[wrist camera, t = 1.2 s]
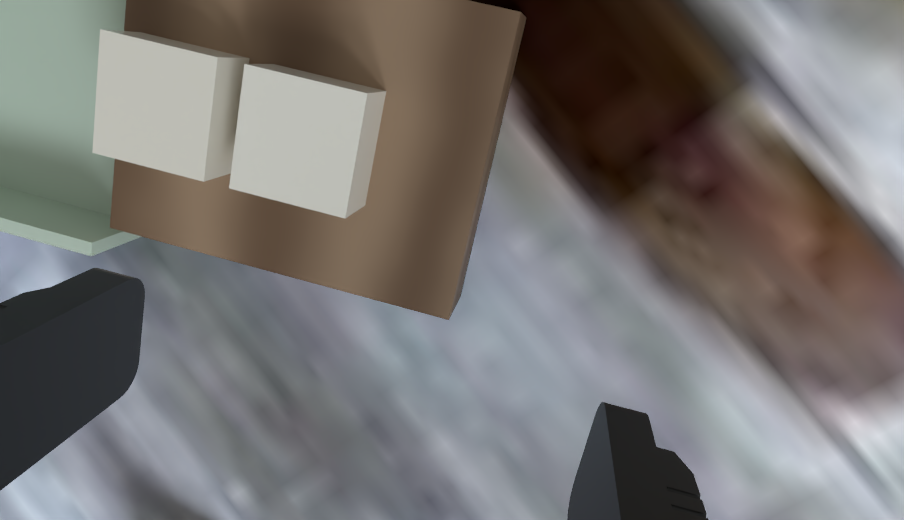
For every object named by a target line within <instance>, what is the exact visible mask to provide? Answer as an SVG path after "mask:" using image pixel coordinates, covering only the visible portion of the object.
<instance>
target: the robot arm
mask: <svg viewBox="0 0 904 520" xmlns="http://www.w3.org/2000/svg"><path fill="white" fill-rule="evenodd" d="M144 299H145V290H144V285H143V283H142V282H141V280H139V279H138V278H134V277H130V276H126V275H122V274H119V273H115V272H111V271H107V270H103V269H100V268H93V269H90V270H88V271H86V272H84V273H81V274H79V275H77V276H75V277H72V278H70V279H68V280H66V281H64V282H61V283H59V284H57V285H55V286H52V287H50V288H45V289H40V290H35V291H30V292H25V293H22V294H20V295H18V296H15V297H13V298H11V299H9V300H6V301H4V302H2V303H0V490H2V489H3V488H4V487H5V486H7V485H8V484H9V483H11V482H12V481H13V480H14V479H16V478H17V477H18V476H20V475H21V474H22V473H23V472H25V471H26V470H27V469H29V468H30V467H31V466H33V465H34V464H35V463H36V462H38V461H39V460H40V459H42V458H43V457H44V456H45V455H47V454H48V453H49V452H51V451H52V450H53V449H54V448H56V447H57V446H58V445H60V444H61V443H62V442H64V441H65V440H66V439H67V438H69V437H70V436H71V435H73V434H74V433H75V432H76V431H78V430H79V429H80V428H82V427H83V426H84V425H85V424H87V423H88V422H89V421H91V420H92V419H93V418H94V417H96V416H97V415H98V414H100V413H101V412H102V411H104V410H105V409H106V408H107V407H109V406H110V405H111V404H113V403H114V402H115V401H116V400H118V399H119V398H120V397H121V396H123V395H124V393H125V392H126V391H127V390H128V388H129V387H130V385H131V384H132V382H133V380H134V377H135V375H136V372H137V369H138V365H139V356H140V345H141V333H142V322H143V310H144ZM568 520H708V519H707V518H706V511H705V508H704V505H703V502H702V500H700V493H699V490H698V487H697V484H696V481H695V478H694V475H693V473H692V472H691V471H690V470H689V469H688V467H687V466H686V465H685V464H684V463H683V462H682V460H681V459H680V458H679V457H678V456H677V455H676V454H675V452H672V451H669V450H665V449H661V448H658V447H656V444H655V440H654V436H653V432H652V429H651V425H650V421H649V417H648V415H647V414H646V413H642V412H638V411H634V410H630V409H627V408H623V407H619V406H615V405H611V404H608V403H604V402H602V403H601V404H600V406H599V407H598V410H597V412H596V415H595V418H594V421H593V424H592V427H591V430H590V433H589V437H588V440H587V443H586V446H585V449H584V452H583V456H582V459H581V462H580V465H579V468H578V471H577V475H576V478H575V481H574V484H573V488H572V492H571V497H570V502H569V509H568Z"/></svg>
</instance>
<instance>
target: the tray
mask: <svg viewBox="0 0 904 520" xmlns="http://www.w3.org/2000/svg"><path fill="white" fill-rule="evenodd" d="M125 9H126V0H0V231H2V232H5V233H9V234H12V235H16V236H20V237H23V238H27V239H30V240H34V241H38V242H41V243H45V244H49V245H52V246H56V247H59V248H63V249H67V250H70V251H74V252H77V253H81V254H85V255H88V256H93V255H96V254H98V253H101V252H104V251H106V250H109V249H111V248H114V247H116V246H119V245H121V244H124V243H127V242H129V241H132V240H134V239H137V238H139V237H142V236H138V235H135V234H131V233H127V232H124V231H120V230H116V229H112V228H110V217H111V203H112V189H113V175H114V161H115V159H114V158H111V157H107V156H103V155H99V154H95V153H92V151H93V135H94V119H95V103H96V87H97V71H98V55H99V38H100V29H105V30H118V31H124V23H125Z"/></svg>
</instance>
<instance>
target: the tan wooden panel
mask: <svg viewBox="0 0 904 520" xmlns="http://www.w3.org/2000/svg"><path fill="white" fill-rule="evenodd" d="M525 22H526V17H525V16H524V15H523V14H522V13H521V12H519V11H514V10H510V9H505V8H501V7H496V6H492V5H487V4H483V3H478V2H474V1H469V0H126V9H125V23H124V31H130V32H142V33H146V34H150V35H155V36H159V37H163V38H167V39H171V40H176V41H180V42H184V43H188V44H192V45H196V46H201V47H205V48H209V49H213V50H217V51H221V52H226V53H230V54H234V55H238V56H242V57H246V58H249V64H276V65H280V66H284V67H288V68H292V69H297V70H301V71H305V72H309V73H313V74H317V75H322V76H326V77H330V78H334V79H338V80H342V81H347V82H351V83H355V84H359V85H363V86H367V87H372V88H376V89H380V90H384V91H386V96H385V101H384V106H383V112H382V117H381V123H380V128H379V133H378V139H377V144H376V150H375V155H374V160H373V166H372V171H371V177H370V182H369V187H368V193H367V198H366V204H365V206H364V207H362V208H361V209H359V210H358V211H356V212H355V213H353V214H352V215H350V216H348V217H347V218H341V217H337V216H333V215H329V214H326V213H322V212H318V211H314V210H310V209H306V208H302V207H299V206H295V205H291V204H287V203H283V202H279V201H276V200H272V199H268V198H264V197H260V196H256V195H253V194H249V193H245V192H241V191H237V190H233V189H230V188H229V184H230V176H231V173H230V174H227V175H224V176H221V177H218V178H214V179H211V180H208V181H205V182H203V181H199V180H195V179H191V178H187V177H184V176H180V175H176V174H172V173H168V172H164V171H161V170H157V169H153V168H149V167H145V166H141V165H137V164H134V163H130V162H126V161H122V160H118V159H115V161H114V175H113V189H112V203H111V217H110V228H112V229H116V230H120V231H124V232H127V233H131V234H135V235H138V236H142V237H146V238H149V239H153V240H157V241H160V242H164V243H168V244H171V245H175V246H179V247H182V248H186V249H190V250H193V251H197V252H201V253H204V254H208V255H212V256H216V257H219V258H223V259H227V260H230V261H234V262H238V263H241V264H245V265H249V266H252V267H256V268H260V269H263V270H267V271H271V272H274V273H278V274H282V275H285V276H289V277H293V278H296V279H300V280H304V281H307V282H311V283H315V284H319V285H322V286H326V287H330V288H333V289H337V290H341V291H344V292H348V293H352V294H355V295H359V296H363V297H366V298H370V299H374V300H377V301H381V302H385V303H388V304H392V305H396V306H399V307H403V308H407V309H411V310H414V311H418V312H422V313H425V314H429V315H433V316H436V317H440V318H444V319H447V320H449V318H450V316H451V314H452V312H453V310H454V308H455V306H456V304H457V302H458V300H459V298H460V296H461V292H462V288H463V283H464V279H465V275H466V271H467V266H468V262H469V258H470V254H471V250H472V245H473V241H474V237H475V233H476V228H477V224H478V220H479V216H480V212H481V207H482V203H483V199H484V195H485V191H486V186H487V182H488V178H489V174H490V169H491V165H492V161H493V157H494V153H495V148H496V144H497V140H498V136H499V132H500V127H501V123H502V119H503V115H504V110H505V106H506V102H507V98H508V94H509V89H510V85H511V81H512V77H513V72H514V68H515V64H516V60H517V56H518V51H519V47H520V43H521V39H522V35H523V30H524V26H525Z"/></svg>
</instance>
